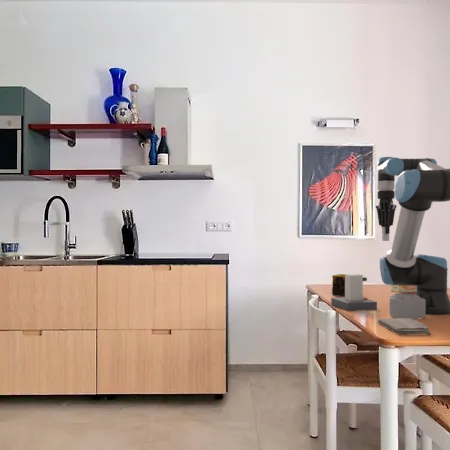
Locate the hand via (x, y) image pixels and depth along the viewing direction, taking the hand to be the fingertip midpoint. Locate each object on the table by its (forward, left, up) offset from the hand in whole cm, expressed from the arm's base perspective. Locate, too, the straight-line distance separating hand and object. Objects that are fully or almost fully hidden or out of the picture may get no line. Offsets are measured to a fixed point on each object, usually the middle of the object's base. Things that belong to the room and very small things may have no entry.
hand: (385, 240), depth 212 cm
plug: (-9, +20, -28) cm, 36 cm away
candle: (+23, +8, -29) cm, 38 cm away
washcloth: (-50, +27, -29) cm, 64 cm away
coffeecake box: (+25, -30, -29) cm, 48 cm away
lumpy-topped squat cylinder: (-32, +12, -29) cm, 45 cm away
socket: (-9, +22, -28) cm, 37 cm away
